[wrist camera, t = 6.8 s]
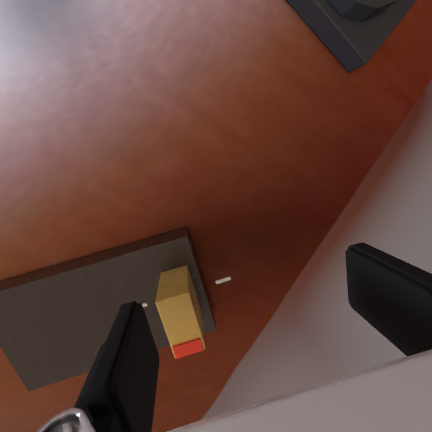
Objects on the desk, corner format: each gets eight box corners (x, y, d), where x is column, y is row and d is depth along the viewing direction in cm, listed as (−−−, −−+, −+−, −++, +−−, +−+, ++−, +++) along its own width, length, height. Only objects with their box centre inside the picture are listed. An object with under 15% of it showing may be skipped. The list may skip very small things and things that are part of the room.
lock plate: (212, 218, 23) (216, 227, 20) (235, 303, 26) (242, 322, 23) (-2, 281, 22) (-32, 301, 19) (46, 364, 24) (27, 393, 21)
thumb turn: (160, 272, 20) (154, 304, 16) (187, 264, 21) (188, 294, 16) (176, 319, 22) (174, 361, 17) (201, 311, 22) (206, 351, 17)
